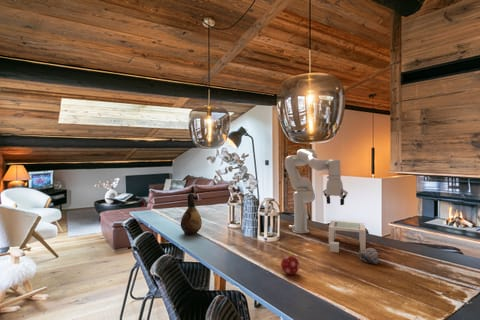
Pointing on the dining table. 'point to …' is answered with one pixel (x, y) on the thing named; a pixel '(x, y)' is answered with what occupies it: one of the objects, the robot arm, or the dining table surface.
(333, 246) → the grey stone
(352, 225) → the trapdoor
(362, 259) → the pumice stone
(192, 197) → the ceramic jug
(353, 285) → the dining table surface
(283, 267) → the christmas ornament
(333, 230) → the frame
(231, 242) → the dining table surface
